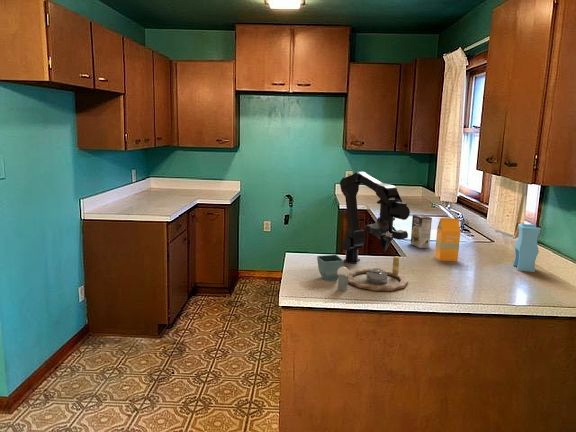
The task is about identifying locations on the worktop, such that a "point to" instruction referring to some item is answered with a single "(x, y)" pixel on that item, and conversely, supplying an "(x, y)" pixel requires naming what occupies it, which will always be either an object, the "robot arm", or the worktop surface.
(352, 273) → the brown ring with post
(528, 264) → the vase
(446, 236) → the orange juice
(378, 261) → the worktop surface
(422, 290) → the worktop surface
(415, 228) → the coffee box
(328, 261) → the flower pot
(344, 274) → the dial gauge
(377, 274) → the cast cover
